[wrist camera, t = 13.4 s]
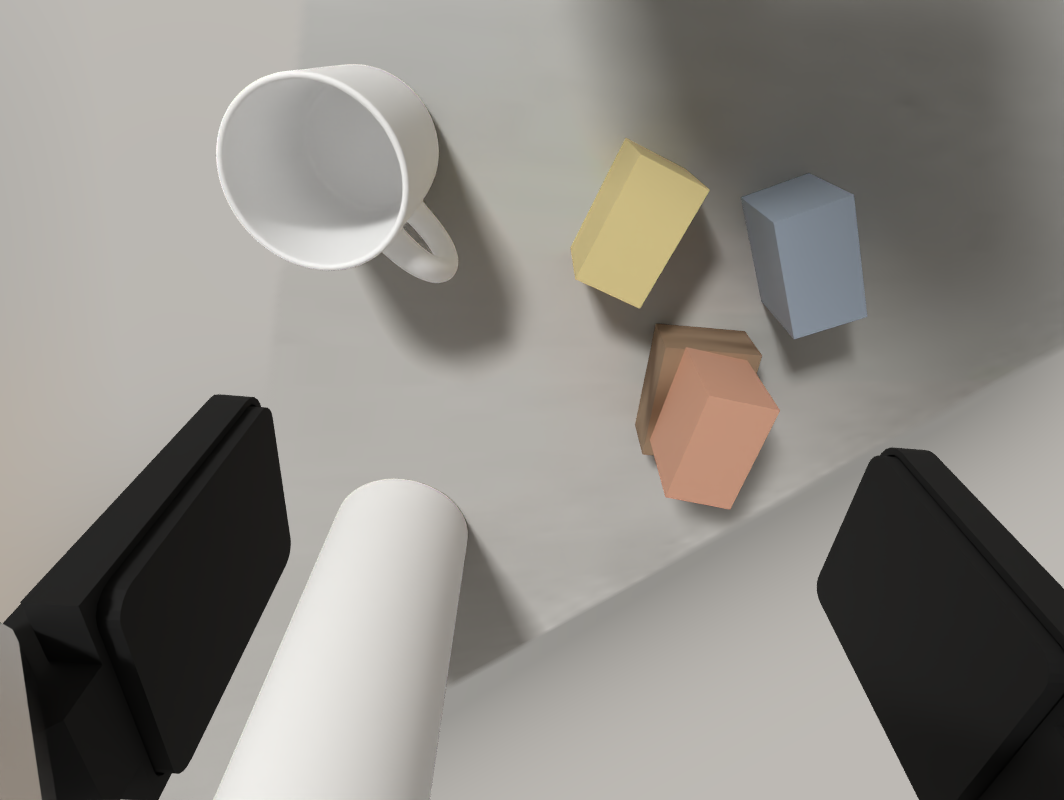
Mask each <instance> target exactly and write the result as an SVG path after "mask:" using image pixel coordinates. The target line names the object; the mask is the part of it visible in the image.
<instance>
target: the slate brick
mask: <svg viewBox="0 0 1064 800" xmlns="http://www.w3.org/2000/svg"><path fill="white" fill-rule="evenodd" d="M741 200H742V205H743V210H744V215H745V220H746V226H747V231H748V236H749V241H750V246H751V251H752V256H753V261H754V266H755V271H756V276H757V281H758V286H759V291H760V296H761V301H762V303H763V304H764V305H765V306H766V307H767V308H768V310H769V311H770V312H771V313H772V314H773V315H774V317H775V318H776V319H777V320H778V321H779V322H780V324H781V325H782V326H783V327H784V328H785V329H786V331H787V332H788V333H789V334H790V335H791V336H792V338H793V339H797V338H800V337H804V336H807V335H810V334H813V333H817V332H820V331H823V330H826V329H829V328H833V327H836V326H839V325H842V324H846V323H849V322H852V321H855V320H858V319H862V318H865V317H867V310H866V300H865V291H864V282H863V273H862V264H861V254H860V245H859V236H858V227H857V218H856V208H855V199H854V194H851V193H849V192H847V191H845V190H843V189H841V188H839V187H837V186H835V185H833V184H831V183H829V182H827V181H825V180H823V179H821V178H818V177H816V176H814V175H812V174H810V173H808V174H805V175H802V176H799V177H797V178H794V179H791V180H788V181H785V182H783V183H780V184H777V185H774V186H771V187H769V188H766V189H763V190H760V191H757V192H755V193H752V194H749V195H746V196H744V197H741Z"/></svg>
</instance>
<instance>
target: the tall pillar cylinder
mask: <svg viewBox="0 0 1064 800" xmlns="http://www.w3.org/2000/svg"><path fill="white" fill-rule="evenodd" d="M467 540H468V529H467V524H466V521H465V518H464V516H463V514H462V513H461V511H460V509H459V508H458V507H457V506H456V504H455V503H454V502H453V501H452V500H451V499H450V498H448V497H447V496H446V495H445V494H443V493H442V492H440V491H439V490H437V489H435V488H433V487H431V486H428V485H426V484H423V483H420V482H416V481H412V480H406V479H383V480H378V481H374V482H370V483H368V484H365V485H363V486H361V487H359V488H357V489H356V490H354V491H353V492H352V493H350V494H349V495H348V496H347V497H346V499H345V500H344V501H343V503H342V504H341V506H340V508H339V510H338V512H337V515H336V517H335V519H334V522H333V524H332V526H331V529H330V531H329V533H328V535H327V538H326V540H325V542H324V545H323V547H322V549H321V552H320V554H319V556H318V559H317V561H316V563H315V566H314V568H313V570H312V572H311V575H310V577H309V579H308V582H307V584H306V586H305V589H304V591H303V593H302V596H301V598H300V600H299V603H298V605H297V607H296V609H295V612H294V614H293V616H292V619H291V621H290V623H289V626H288V628H287V630H286V633H285V635H284V637H283V640H282V642H281V644H280V647H279V649H278V651H277V653H276V656H275V658H274V660H273V663H272V665H271V667H270V670H269V672H268V674H267V677H266V679H265V681H264V684H263V686H262V688H261V690H260V693H259V695H258V697H257V700H256V702H255V704H254V707H253V709H252V711H251V714H250V716H249V718H248V721H247V723H246V725H245V728H244V730H243V732H242V734H241V737H240V739H239V741H238V744H237V746H236V748H235V751H234V753H233V755H232V758H231V760H230V762H229V765H228V767H227V769H226V772H225V774H224V776H223V778H222V781H221V783H220V785H219V788H218V790H217V792H216V795H215V797H214V799H213V800H430V794H431V787H432V780H433V773H434V767H435V759H436V752H437V745H438V739H439V732H440V725H441V718H442V711H443V705H444V698H445V691H446V684H447V678H448V671H449V664H450V657H451V650H452V643H453V636H454V630H455V623H456V616H457V609H458V602H459V595H460V588H461V582H462V575H463V568H464V561H465V554H466V547H467Z"/></svg>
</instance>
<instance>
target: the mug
mask: <svg viewBox="0 0 1064 800" xmlns="http://www.w3.org/2000/svg"><path fill="white" fill-rule="evenodd" d="M438 159H439V145H438V138H437V133H436V129H435V126H434V123H433V120H432V118H431V116H430V113H429V112H428V110H427V108H426V106H425V105H424V103H423V102H422V101H421V99H420V98H419V96H418V95H417V94H416V93H415V92H414V91H413V90H412V89H411V88H410V87H409V86H408V85H407V84H405V83H404V82H403V81H402V80H400V79H399V78H397V77H396V76H394V75H393V74H391V73H389V72H386V71H384V70H382V69H379V68H376V67H372V66H367V65H360V64H346V65H337V66H328V67H319V68H310V69H301V70H292V71H284V72H278V73H274V74H270V75H267V76H264V77H262V78H260V79H258V80H256V81H254V82H253V83H251V84H250V85H248V86H247V87H246V88H244V89H243V90H242V91H241V92H240V93H239V94H238V95H237V96H236V97H235V99H234V100H233V102H232V103H231V104H230V105H229V107H228V109H227V111H226V113H225V115H224V117H223V119H222V122H221V126H220V128H219V132H218V138H217V144H216V160H217V170H218V175H219V179H220V183H221V186H222V189H223V192H224V195H225V197H226V199H227V201H228V204H229V206H230V208H231V209H232V211H233V213H234V214H235V216H236V217H237V219H238V220H239V221H240V223H241V224H242V225H243V227H244V228H245V229H246V230H247V231H248V232H249V234H250V235H252V237H253V238H254V239H255V240H256V241H258V242H259V243H260V244H261V245H262V246H263V247H265V248H266V249H268V250H269V251H271V252H272V253H274V254H275V255H277V256H279V257H280V258H282V259H284V260H286V261H288V262H291V263H293V264H296V265H299V266H302V267H306V268H310V269H316V270H328V271H335V270H344V269H349V268H353V267H356V266H359V265H361V264H364V263H366V262H368V261H370V260H371V259H373V258H375V257H376V256H377V255H379V254H380V253H381V252H382V253H383V254H384V255H385V256H387V257H388V258H389V259H390V260H391V261H392V262H394V263H395V264H396V265H398V266H399V267H400V268H402V269H403V270H405V271H406V272H408V273H409V274H411V275H413V276H415V277H417V278H419V279H421V280H424V281H427V282H431V283H442V282H446V281H448V280H450V279H451V278H453V276H454V275H455V273H456V271H457V268H458V255H457V251H456V248H455V246H454V243H453V241H452V240H451V238H450V236H449V234H448V233H447V231H446V230H445V228H444V227H443V226H442V224H441V223H440V222H439V220H438V219H437V218H436V216H435V215H434V214H433V213H432V212H431V210H430V209H429V208H428V207H427V206H426V205H425V203H424V202H423V199H424V197H425V196H426V195H427V193H428V191H429V189H430V187H431V185H432V183H433V180H434V178H435V175H436V172H437V167H438ZM406 222H408V223H409V224H410V225H411V226H412V227H413V228H414V229H415V230H416V232H417V233H418V234H419V235H420V236H421V237H422V238H423V240H424V241H425V242H426V244H427V245H428V247H429V248H430V250H431V252H432V253H433V254H431V253H429V252H428V251H427V250H425V249H424V248H423V247H422V246H421V245H419V244H418V243H417V242H416V241H415V240H414V239H413V238H412V237H411V236H410V235H409V234H408V233H407V231H406V230H405V229H404V227H403V226H404V225H405V223H406Z"/></svg>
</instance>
